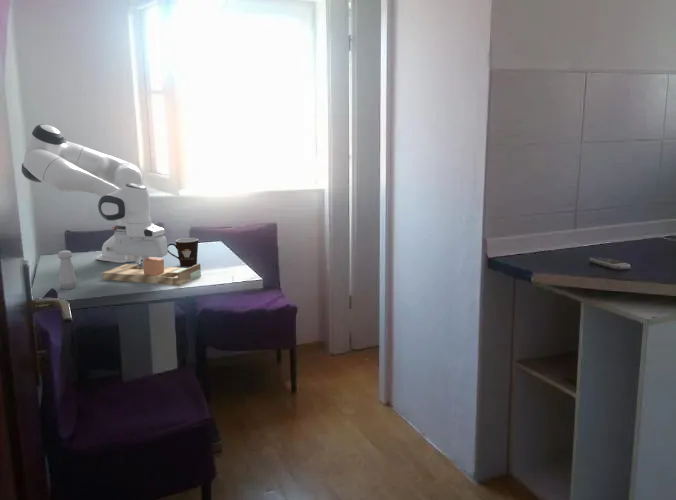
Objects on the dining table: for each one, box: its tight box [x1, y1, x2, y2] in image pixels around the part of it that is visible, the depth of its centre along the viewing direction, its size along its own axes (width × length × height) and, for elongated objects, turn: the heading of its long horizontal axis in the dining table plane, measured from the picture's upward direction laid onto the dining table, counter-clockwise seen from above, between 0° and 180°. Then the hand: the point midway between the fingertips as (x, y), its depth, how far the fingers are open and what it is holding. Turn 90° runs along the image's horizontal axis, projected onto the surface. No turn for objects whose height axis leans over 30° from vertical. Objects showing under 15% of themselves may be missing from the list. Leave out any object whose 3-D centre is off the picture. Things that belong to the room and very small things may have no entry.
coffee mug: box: [167, 237, 199, 268], centre depth 249 cm, size 12×9×10 cm
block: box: [142, 257, 165, 276], centre depth 226 cm, size 5×5×5 cm
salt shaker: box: [57, 249, 78, 290], centre depth 217 cm, size 6×6×13 cm
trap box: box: [101, 263, 202, 286], centre depth 231 cm, size 32×14×4 cm, turn 72°
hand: (142, 267), depth 227 cm, fingers closed
